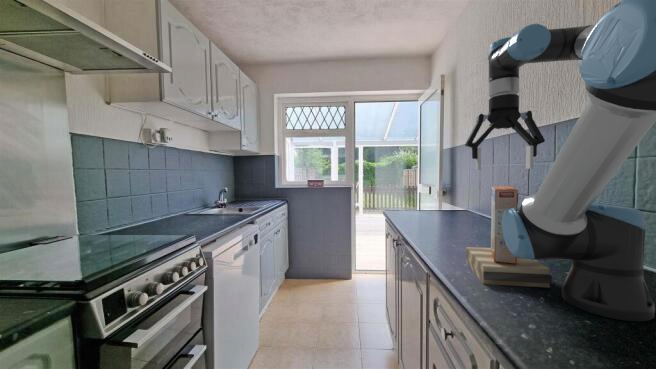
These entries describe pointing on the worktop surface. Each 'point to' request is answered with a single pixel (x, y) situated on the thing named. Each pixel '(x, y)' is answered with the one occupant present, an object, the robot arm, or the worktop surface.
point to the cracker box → (500, 203)
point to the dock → (507, 270)
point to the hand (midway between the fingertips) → (503, 169)
